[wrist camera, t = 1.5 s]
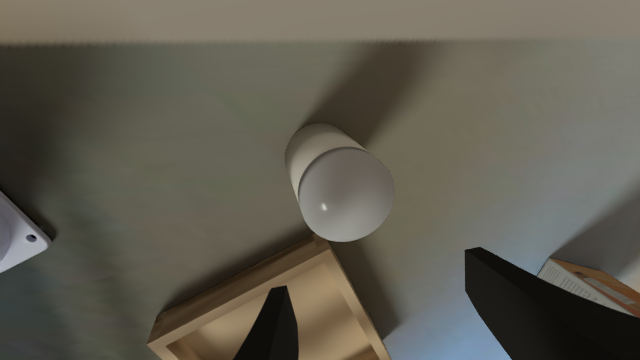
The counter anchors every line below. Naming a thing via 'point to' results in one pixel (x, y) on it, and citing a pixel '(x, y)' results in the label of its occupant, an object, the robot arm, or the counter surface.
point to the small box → (592, 285)
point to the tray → (248, 298)
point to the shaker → (338, 183)
